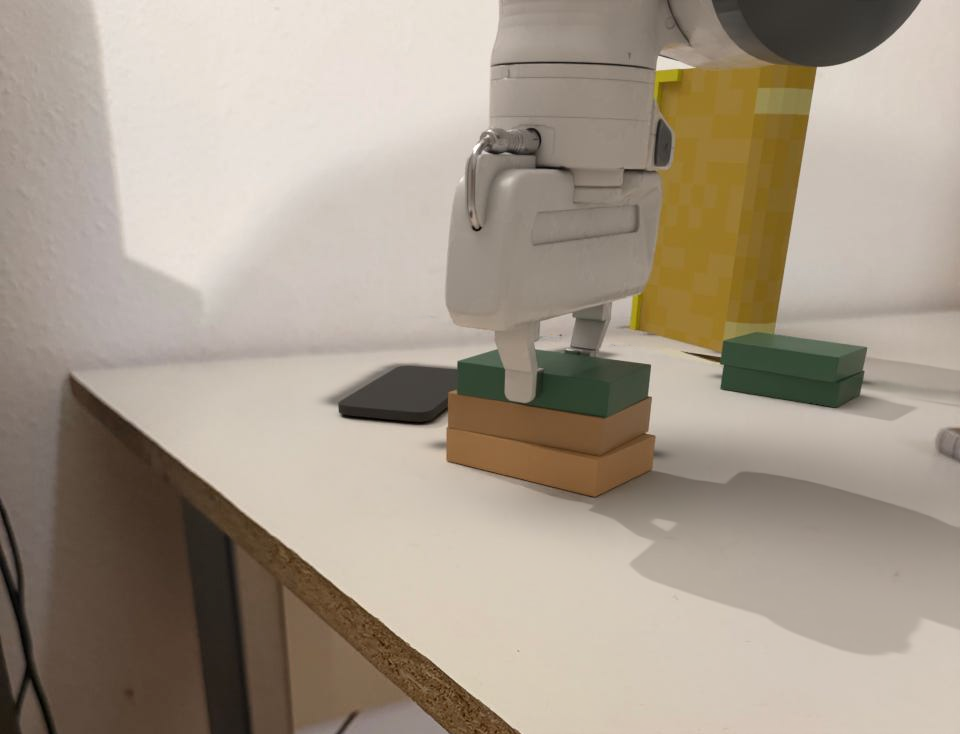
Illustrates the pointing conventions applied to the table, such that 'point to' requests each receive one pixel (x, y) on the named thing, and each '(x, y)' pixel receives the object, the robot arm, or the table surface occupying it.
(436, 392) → the phone
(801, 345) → the green stack
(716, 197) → the book
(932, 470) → the table surface
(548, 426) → the tan stack
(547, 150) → the robot arm
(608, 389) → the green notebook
